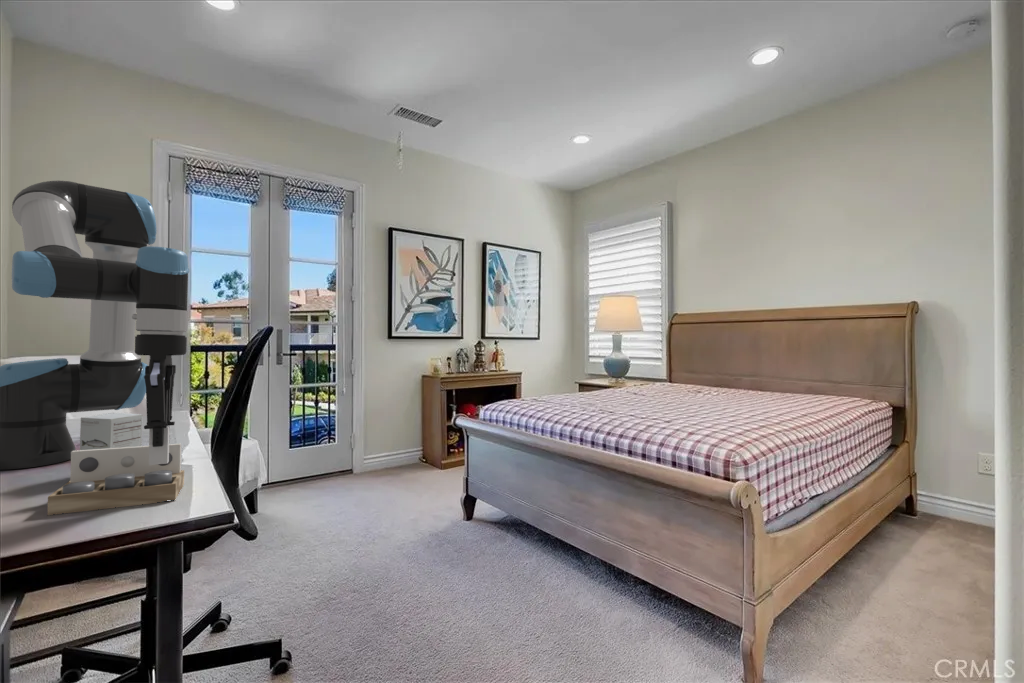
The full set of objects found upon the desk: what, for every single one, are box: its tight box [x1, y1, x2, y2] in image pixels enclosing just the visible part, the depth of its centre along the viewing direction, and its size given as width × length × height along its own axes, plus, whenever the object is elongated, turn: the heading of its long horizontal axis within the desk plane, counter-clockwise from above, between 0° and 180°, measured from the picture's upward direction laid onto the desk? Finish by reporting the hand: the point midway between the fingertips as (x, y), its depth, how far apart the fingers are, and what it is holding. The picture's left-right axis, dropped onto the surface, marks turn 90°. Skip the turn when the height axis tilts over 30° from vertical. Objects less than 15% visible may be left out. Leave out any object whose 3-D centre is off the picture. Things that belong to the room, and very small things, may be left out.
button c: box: [144, 470, 172, 486], centre depth 85 cm, size 4×4×2 cm
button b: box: [105, 473, 135, 490], centre depth 82 cm, size 4×4×2 cm
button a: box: [62, 481, 95, 494], centre depth 80 cm, size 4×4×2 cm
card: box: [69, 443, 182, 483], centre depth 87 cm, size 1×16×6 cm, turn 118°
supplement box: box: [79, 412, 144, 450], centre depth 98 cm, size 7×7×13 cm
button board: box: [47, 469, 185, 516], centre depth 84 cm, size 10×17×3 cm, turn 118°
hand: (158, 463), depth 85 cm, fingers closed
